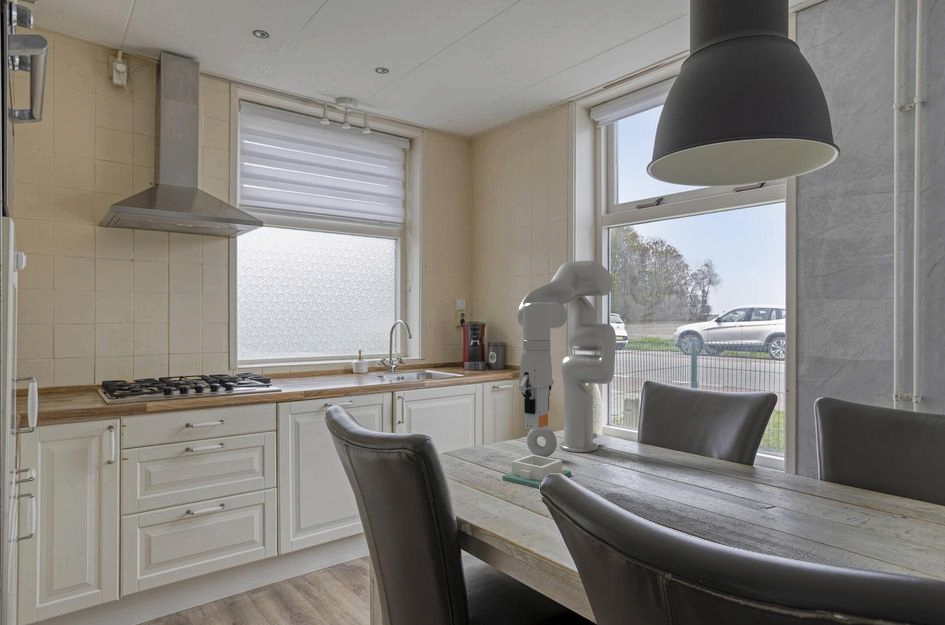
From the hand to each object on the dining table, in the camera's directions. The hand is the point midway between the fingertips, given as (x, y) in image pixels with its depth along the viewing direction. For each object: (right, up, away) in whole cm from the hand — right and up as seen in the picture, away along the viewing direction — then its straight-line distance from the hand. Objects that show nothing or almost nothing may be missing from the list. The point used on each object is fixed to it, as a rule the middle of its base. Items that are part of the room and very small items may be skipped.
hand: (536, 411), depth 152 cm
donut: (+4, -19, +21) cm, 29 cm away
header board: (0, -18, 0) cm, 18 cm away
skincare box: (0, -5, 0) cm, 5 cm away
